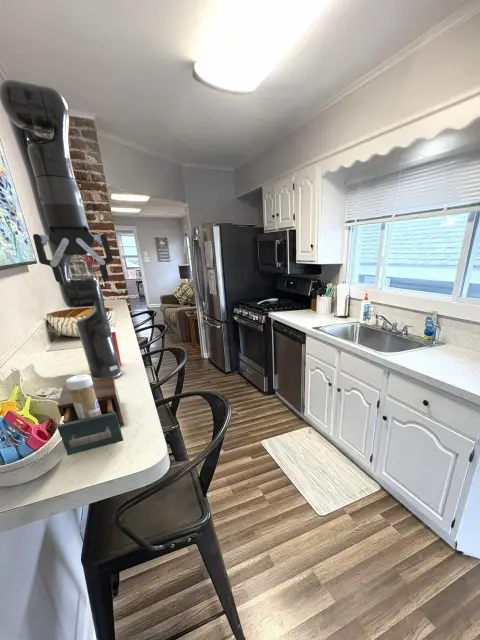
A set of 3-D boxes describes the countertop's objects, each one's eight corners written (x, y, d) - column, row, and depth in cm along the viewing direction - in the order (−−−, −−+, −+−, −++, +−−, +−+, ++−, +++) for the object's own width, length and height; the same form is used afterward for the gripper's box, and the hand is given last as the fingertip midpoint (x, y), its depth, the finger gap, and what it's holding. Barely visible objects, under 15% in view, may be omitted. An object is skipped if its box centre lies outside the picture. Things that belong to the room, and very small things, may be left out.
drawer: (124, 450, 65) (116, 422, 62) (66, 466, 60) (54, 437, 58) (120, 417, 78) (113, 393, 76) (71, 429, 74) (62, 403, 71)
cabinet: (124, 425, 76) (115, 394, 73) (69, 439, 71) (57, 406, 68) (121, 404, 87) (113, 376, 84) (72, 415, 82) (62, 385, 79)
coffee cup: (123, 361, 124) (114, 324, 118) (125, 367, 117) (116, 328, 111) (99, 365, 120) (88, 327, 114) (100, 371, 113) (89, 331, 107)
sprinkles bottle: (107, 434, 69) (91, 378, 64) (83, 440, 67) (64, 383, 62) (105, 425, 73) (90, 372, 67) (83, 431, 70) (65, 376, 65)
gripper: (100, 208, 73) (117, 280, 79) (24, 205, 66) (49, 284, 72) (100, 203, 67) (118, 282, 73) (17, 199, 60) (45, 286, 66)
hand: (84, 283), depth 73 cm, fingers open, 8 cm apart
